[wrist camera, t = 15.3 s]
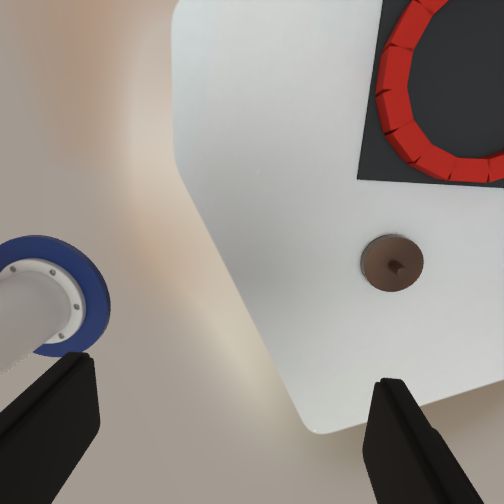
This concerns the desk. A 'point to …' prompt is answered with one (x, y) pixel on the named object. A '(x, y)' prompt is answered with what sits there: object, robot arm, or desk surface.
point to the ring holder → (392, 263)
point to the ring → (400, 114)
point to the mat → (444, 89)
